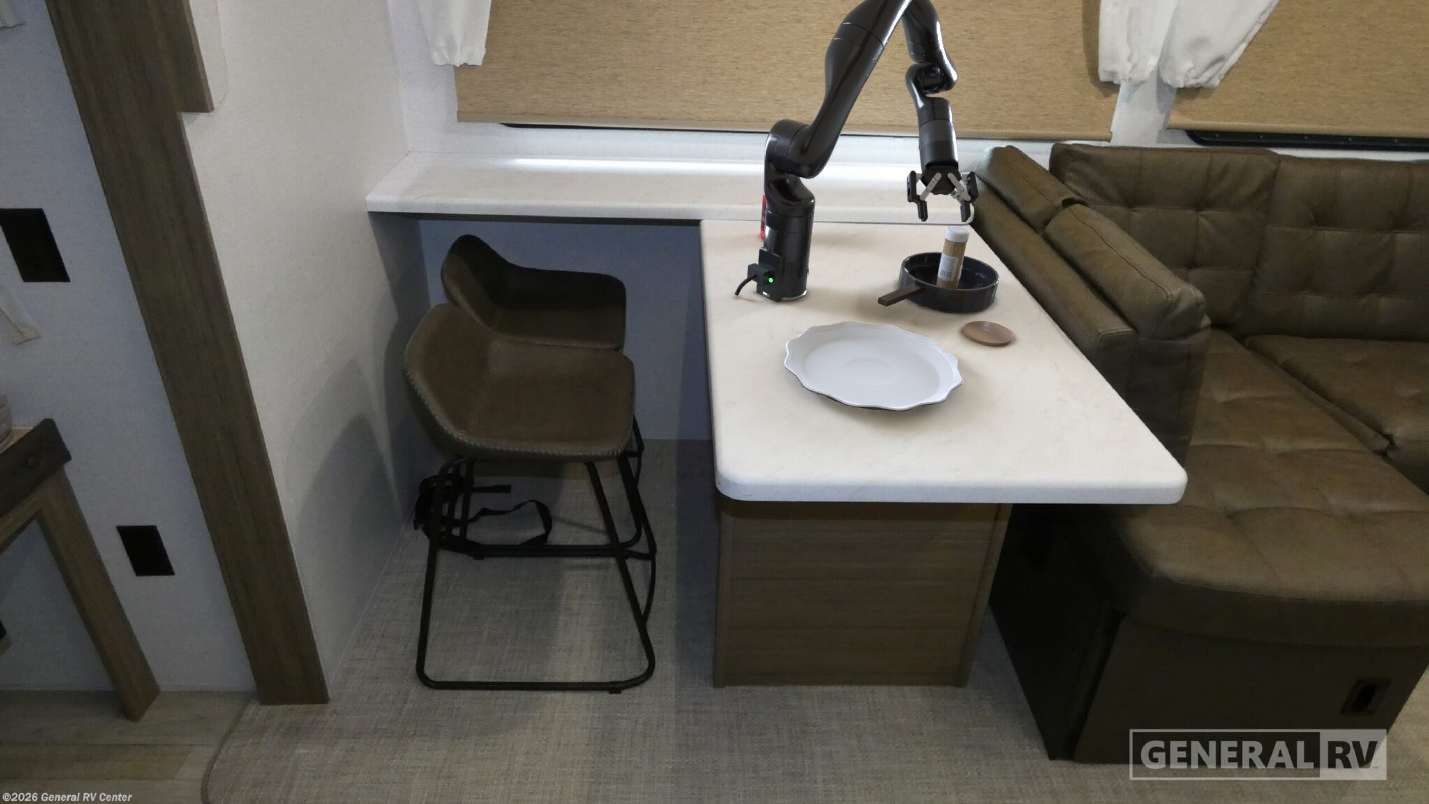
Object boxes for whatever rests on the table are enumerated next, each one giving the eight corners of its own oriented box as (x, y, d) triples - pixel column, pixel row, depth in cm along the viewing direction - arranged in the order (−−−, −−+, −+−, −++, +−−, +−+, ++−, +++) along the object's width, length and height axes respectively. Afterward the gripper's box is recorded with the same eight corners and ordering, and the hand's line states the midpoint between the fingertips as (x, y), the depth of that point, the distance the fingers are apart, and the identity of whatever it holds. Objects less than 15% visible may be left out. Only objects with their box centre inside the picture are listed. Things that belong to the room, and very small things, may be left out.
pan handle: (913, 288, 164) (914, 283, 163) (922, 292, 162) (923, 287, 161) (877, 303, 157) (878, 297, 157) (886, 307, 156) (887, 301, 155)
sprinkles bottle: (961, 294, 170) (975, 231, 162) (945, 298, 167) (959, 234, 160) (944, 285, 173) (957, 223, 166) (929, 290, 171) (941, 227, 163)
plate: (754, 347, 147) (755, 335, 146) (894, 323, 157) (896, 311, 156) (839, 436, 125) (841, 423, 123) (996, 401, 135) (999, 388, 134)
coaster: (994, 350, 150) (995, 348, 149) (953, 332, 155) (953, 329, 155) (1022, 336, 155) (1022, 334, 155) (980, 319, 160) (981, 316, 160)
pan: (956, 322, 159) (962, 298, 156) (878, 288, 171) (882, 265, 168) (1012, 297, 170) (1018, 274, 167) (935, 266, 182) (939, 245, 179)
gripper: (910, 138, 169) (917, 212, 165) (978, 139, 170) (986, 212, 167) (898, 156, 176) (905, 228, 173) (964, 157, 177) (971, 228, 174)
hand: (945, 220), depth 170 cm, fingers open, 8 cm apart
